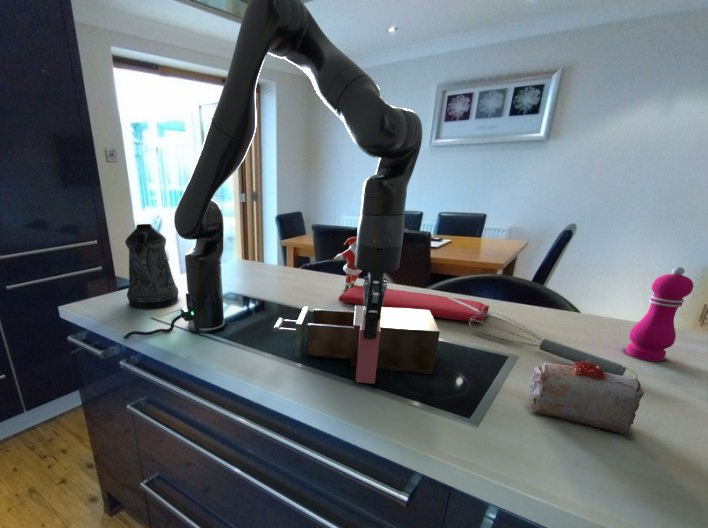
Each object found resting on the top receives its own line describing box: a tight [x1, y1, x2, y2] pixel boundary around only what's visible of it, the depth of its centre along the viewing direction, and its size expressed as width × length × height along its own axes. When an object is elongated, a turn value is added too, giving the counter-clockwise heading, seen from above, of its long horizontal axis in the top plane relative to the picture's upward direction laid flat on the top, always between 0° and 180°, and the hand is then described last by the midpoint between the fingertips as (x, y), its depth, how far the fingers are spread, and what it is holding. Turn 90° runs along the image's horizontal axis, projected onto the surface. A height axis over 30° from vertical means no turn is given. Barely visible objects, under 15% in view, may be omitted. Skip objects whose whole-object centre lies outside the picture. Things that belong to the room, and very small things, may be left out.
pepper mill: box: [625, 266, 694, 362], centre depth 83 cm, size 7×7×20 cm
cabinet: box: [349, 305, 441, 375], centre depth 86 cm, size 17×14×10 cm
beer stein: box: [124, 223, 179, 310], centre depth 124 cm, size 16×19×25 cm
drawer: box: [272, 306, 355, 360], centre depth 90 cm, size 21×12×8 cm, turn 76°
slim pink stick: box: [355, 307, 381, 385], centre depth 74 cm, size 4×3×15 cm
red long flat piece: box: [338, 285, 490, 323], centre depth 120 cm, size 16×41×4 cm, turn 54°
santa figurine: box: [333, 236, 363, 292], centre depth 136 cm, size 25×6×19 cm, turn 140°
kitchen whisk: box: [468, 311, 638, 380], centre depth 88 cm, size 6×34×6 cm, turn 34°
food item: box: [529, 359, 645, 436], centre depth 64 cm, size 14×8×10 cm, turn 57°
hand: (369, 333), depth 73 cm, fingers closed on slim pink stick, 3 cm apart
